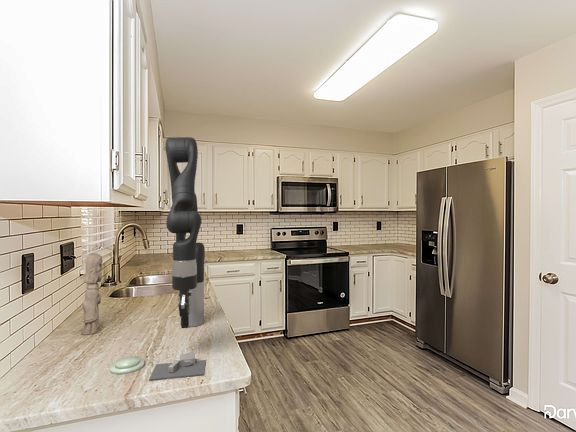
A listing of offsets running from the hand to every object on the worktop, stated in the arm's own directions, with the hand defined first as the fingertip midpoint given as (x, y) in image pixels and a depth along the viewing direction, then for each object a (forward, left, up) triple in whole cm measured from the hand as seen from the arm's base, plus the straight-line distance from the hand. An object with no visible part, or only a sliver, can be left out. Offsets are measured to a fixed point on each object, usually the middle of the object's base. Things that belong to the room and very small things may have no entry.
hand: (185, 327), depth 102 cm
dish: (+7, -15, -8) cm, 19 cm away
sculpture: (-28, -37, -8) cm, 48 cm away
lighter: (+6, 0, -7) cm, 9 cm away
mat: (+12, 0, -8) cm, 15 cm away
